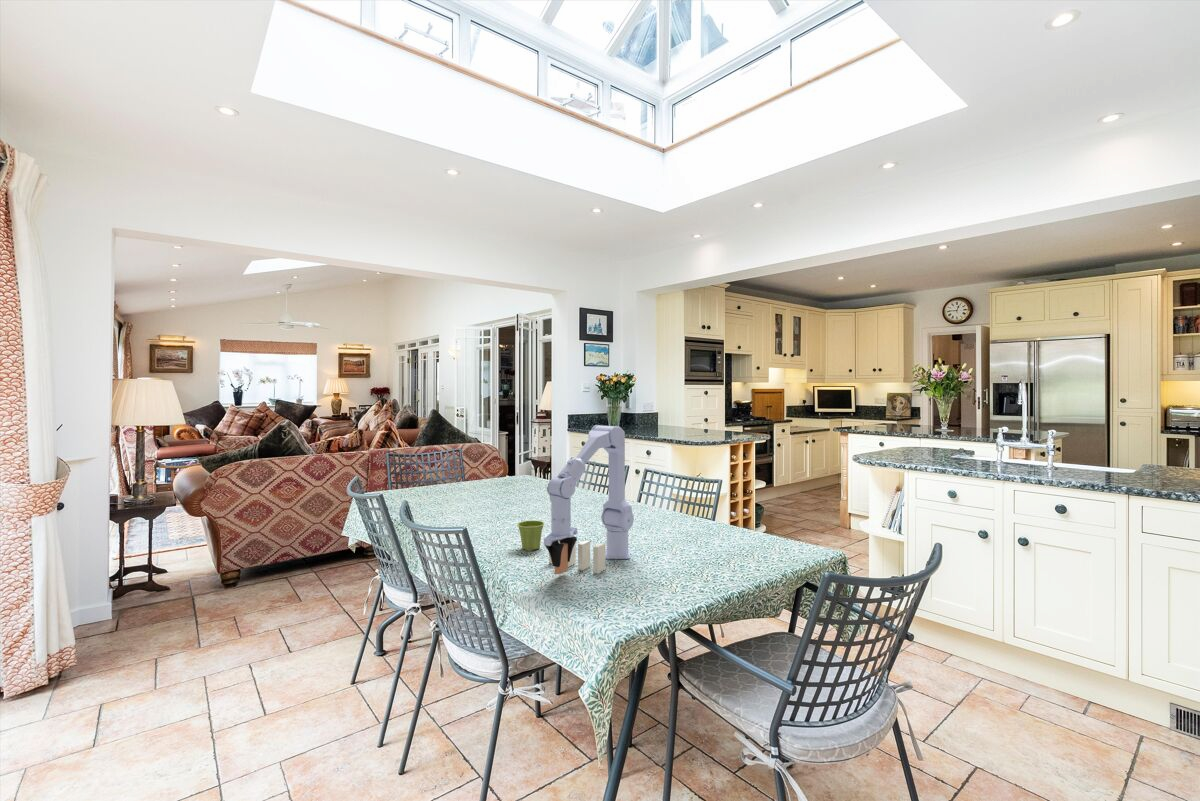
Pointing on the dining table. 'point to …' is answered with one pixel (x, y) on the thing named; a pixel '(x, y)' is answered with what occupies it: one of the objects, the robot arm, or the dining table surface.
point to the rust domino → (563, 560)
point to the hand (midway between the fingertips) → (561, 563)
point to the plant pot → (530, 534)
